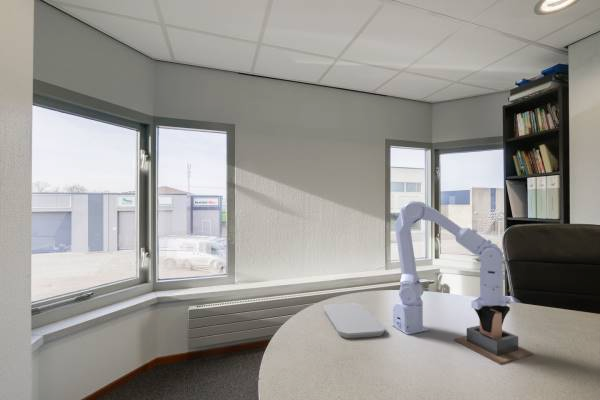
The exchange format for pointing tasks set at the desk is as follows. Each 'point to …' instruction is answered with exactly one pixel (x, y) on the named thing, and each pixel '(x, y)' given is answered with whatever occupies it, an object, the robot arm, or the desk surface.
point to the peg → (494, 326)
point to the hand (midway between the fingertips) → (491, 329)
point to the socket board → (494, 345)
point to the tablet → (353, 320)
